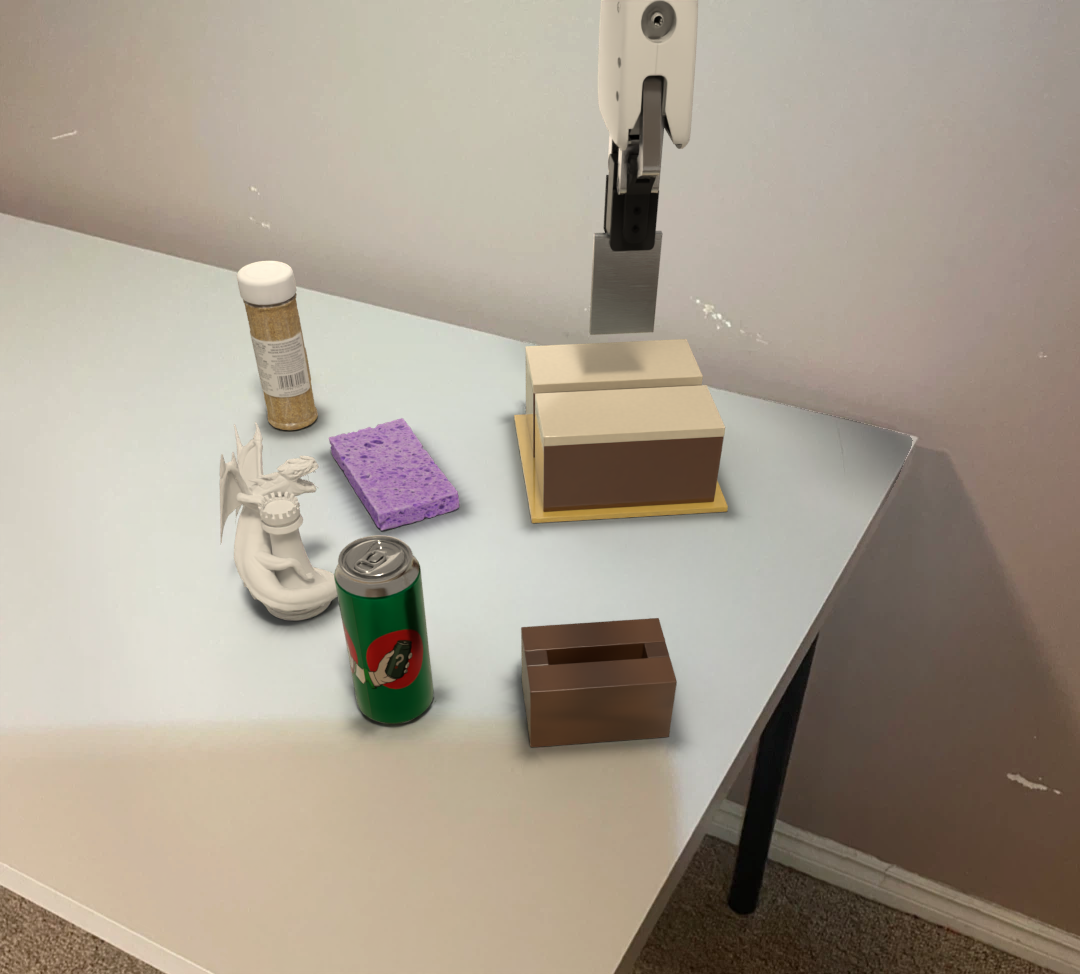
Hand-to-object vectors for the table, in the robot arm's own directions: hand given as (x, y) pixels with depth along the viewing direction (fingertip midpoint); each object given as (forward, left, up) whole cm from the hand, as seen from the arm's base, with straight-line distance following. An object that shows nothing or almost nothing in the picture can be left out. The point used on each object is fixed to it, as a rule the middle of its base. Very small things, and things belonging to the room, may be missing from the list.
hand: (628, 239), depth 74 cm
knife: (0, 0, -7) cm, 7 cm away
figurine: (+27, +14, -19) cm, 36 cm away
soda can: (+19, +27, -19) cm, 38 cm away
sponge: (+19, +1, -19) cm, 27 cm away
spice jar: (+28, -10, -19) cm, 35 cm away
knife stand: (+6, +29, -19) cm, 35 cm away
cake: (0, 0, -19) cm, 19 cm away
